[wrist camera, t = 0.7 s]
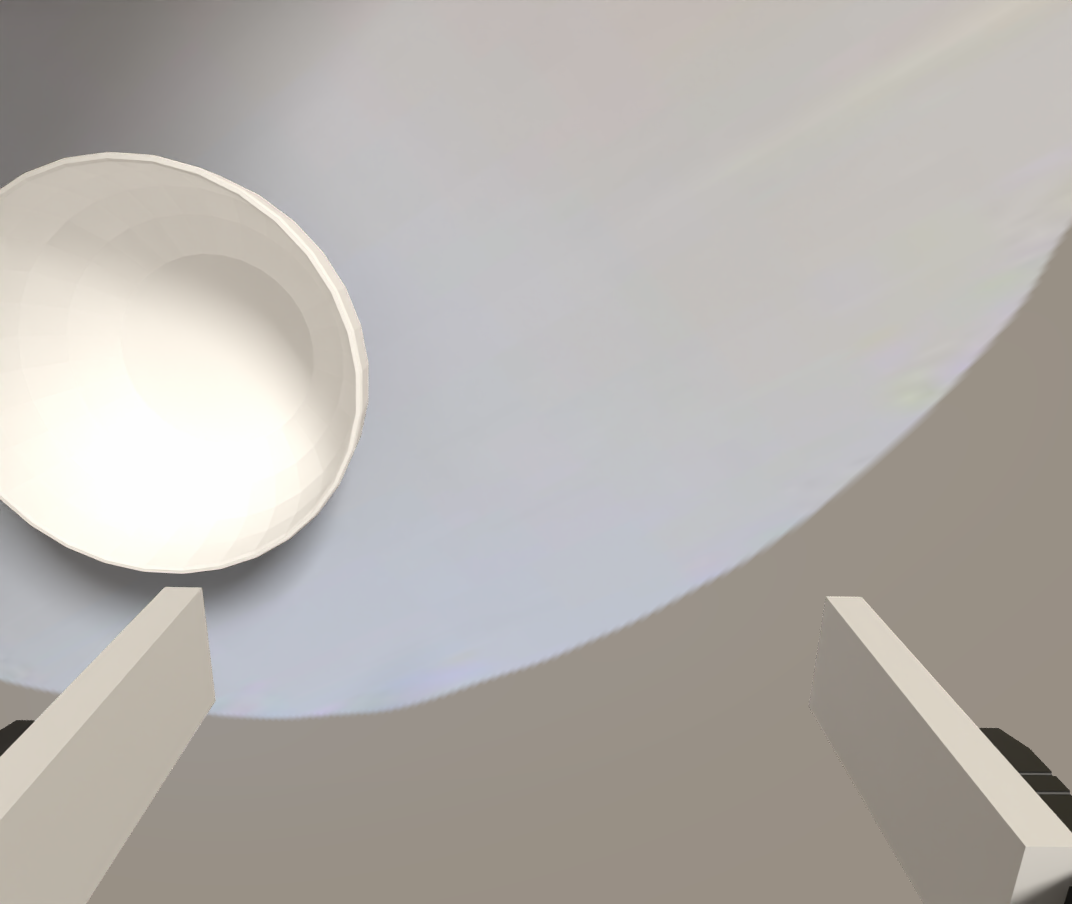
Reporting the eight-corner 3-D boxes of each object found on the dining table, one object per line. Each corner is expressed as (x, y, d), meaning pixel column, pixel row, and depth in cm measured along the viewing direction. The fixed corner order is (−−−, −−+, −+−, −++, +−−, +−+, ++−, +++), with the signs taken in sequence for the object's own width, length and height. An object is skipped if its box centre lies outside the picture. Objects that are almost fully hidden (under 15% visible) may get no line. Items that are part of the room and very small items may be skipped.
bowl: (20, 446, 43) (-102, 499, 34) (85, 110, 38) (-39, 76, 30) (339, 551, 45) (297, 625, 37) (439, 247, 40) (418, 251, 32)
